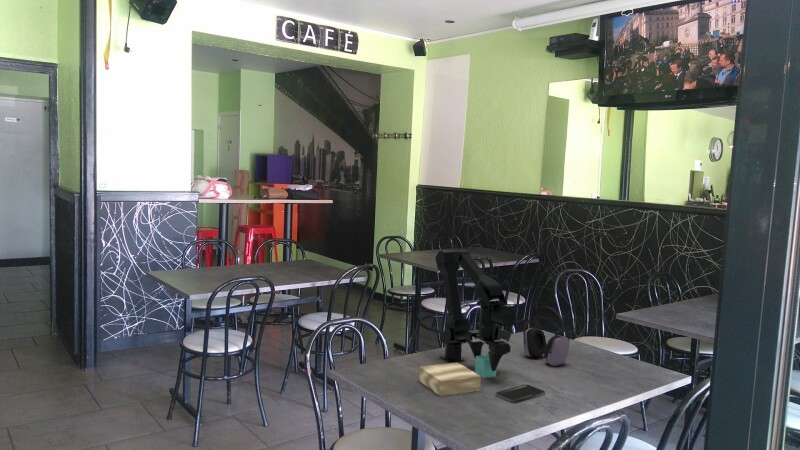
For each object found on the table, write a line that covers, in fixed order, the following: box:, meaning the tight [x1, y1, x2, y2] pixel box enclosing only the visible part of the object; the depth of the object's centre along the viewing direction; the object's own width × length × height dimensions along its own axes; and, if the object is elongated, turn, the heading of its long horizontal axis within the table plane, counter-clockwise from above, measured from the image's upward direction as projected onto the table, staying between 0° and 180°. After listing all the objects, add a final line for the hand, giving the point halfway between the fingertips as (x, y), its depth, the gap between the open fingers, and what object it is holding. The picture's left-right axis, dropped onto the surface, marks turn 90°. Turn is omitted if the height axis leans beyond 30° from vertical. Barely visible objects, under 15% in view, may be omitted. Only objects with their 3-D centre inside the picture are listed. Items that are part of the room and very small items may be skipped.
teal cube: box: [474, 354, 497, 379], centre depth 193 cm, size 5×5×6 cm
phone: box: [495, 384, 546, 404], centre depth 176 cm, size 8×1×15 cm
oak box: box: [418, 361, 482, 397], centre depth 181 cm, size 14×14×5 cm
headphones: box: [523, 305, 571, 367], centre depth 211 cm, size 9×17×20 cm, turn 34°
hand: (485, 366), depth 193 cm, fingers open, 9 cm apart
